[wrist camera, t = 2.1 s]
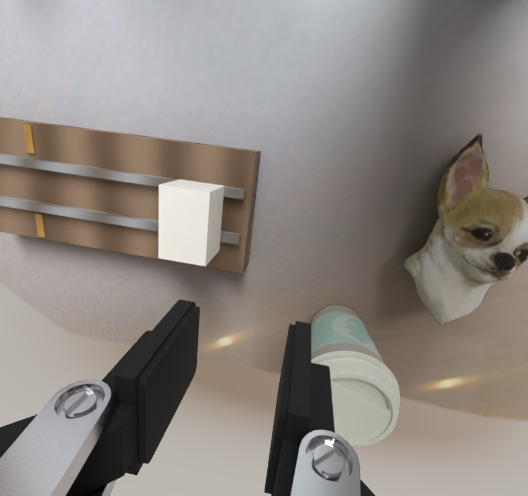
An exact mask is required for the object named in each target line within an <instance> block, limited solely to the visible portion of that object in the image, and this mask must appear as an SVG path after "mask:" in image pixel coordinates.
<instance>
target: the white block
mask: <svg viewBox="0 0 528 496" xmlns="http://www.w3.org/2000/svg"><path fill="white" fill-rule="evenodd" d="M223 197H224V186H223V185H216V184H209V183H203V182H196V181H189V180H182V179H179V180H175V181H171V182H167V183H163V184H160V185H159V235H158V258H160V259H166V260H171V261H177V262H183V263H189V264H194V265H200V266H206V265H207V264H208V263H209V262H210V261H211V259H212V258H213V257H214V256H215V255H216V254H217V253H218V252H219V250H220V236H221V223H222V210H223Z"/></svg>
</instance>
